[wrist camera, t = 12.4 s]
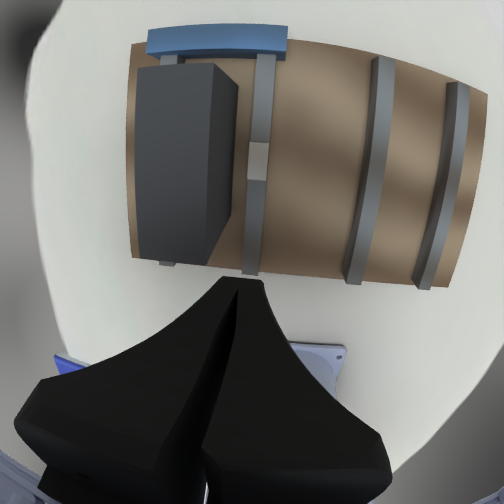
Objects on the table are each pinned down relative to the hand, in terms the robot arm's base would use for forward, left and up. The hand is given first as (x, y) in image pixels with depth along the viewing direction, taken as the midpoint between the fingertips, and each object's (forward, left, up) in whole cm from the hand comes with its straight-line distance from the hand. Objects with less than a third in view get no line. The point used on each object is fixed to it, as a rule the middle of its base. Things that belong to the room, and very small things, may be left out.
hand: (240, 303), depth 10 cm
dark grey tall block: (+4, +3, -10) cm, 11 cm away
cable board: (+4, -3, -10) cm, 11 cm away
